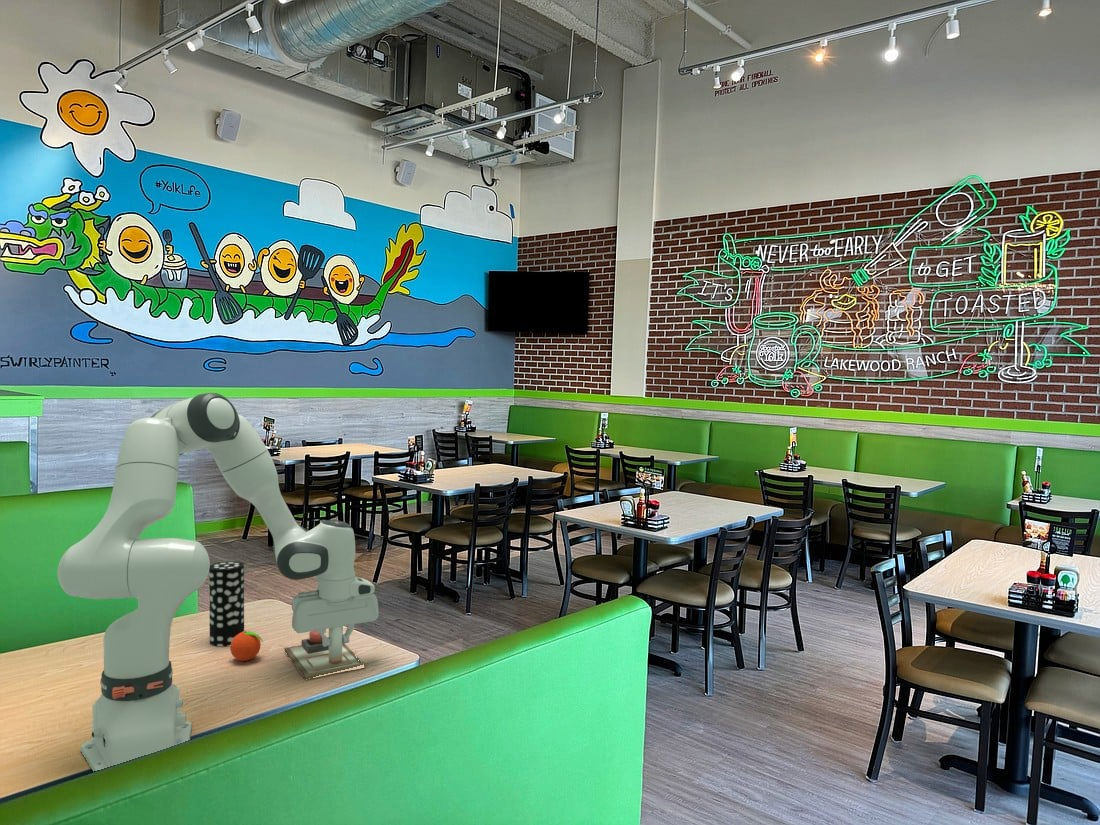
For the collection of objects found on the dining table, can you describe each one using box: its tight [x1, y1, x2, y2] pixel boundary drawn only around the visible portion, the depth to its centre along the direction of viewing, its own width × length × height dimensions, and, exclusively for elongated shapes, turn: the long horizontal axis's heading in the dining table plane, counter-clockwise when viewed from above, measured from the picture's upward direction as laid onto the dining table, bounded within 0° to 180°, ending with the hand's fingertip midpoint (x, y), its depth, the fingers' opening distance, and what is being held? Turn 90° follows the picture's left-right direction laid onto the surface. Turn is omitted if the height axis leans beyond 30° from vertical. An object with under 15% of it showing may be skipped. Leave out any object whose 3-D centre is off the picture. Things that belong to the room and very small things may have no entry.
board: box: [283, 635, 364, 680], centre depth 188 cm, size 20×14×3 cm
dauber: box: [328, 626, 344, 663], centre depth 185 cm, size 3×3×11 cm
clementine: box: [229, 630, 264, 662], centre depth 187 cm, size 8×7×7 cm
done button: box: [308, 630, 325, 642], centre depth 193 cm, size 4×4×2 cm
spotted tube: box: [208, 560, 245, 647], centre depth 199 cm, size 8×8×20 cm
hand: (335, 644), depth 184 cm, fingers closed on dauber, 3 cm apart
